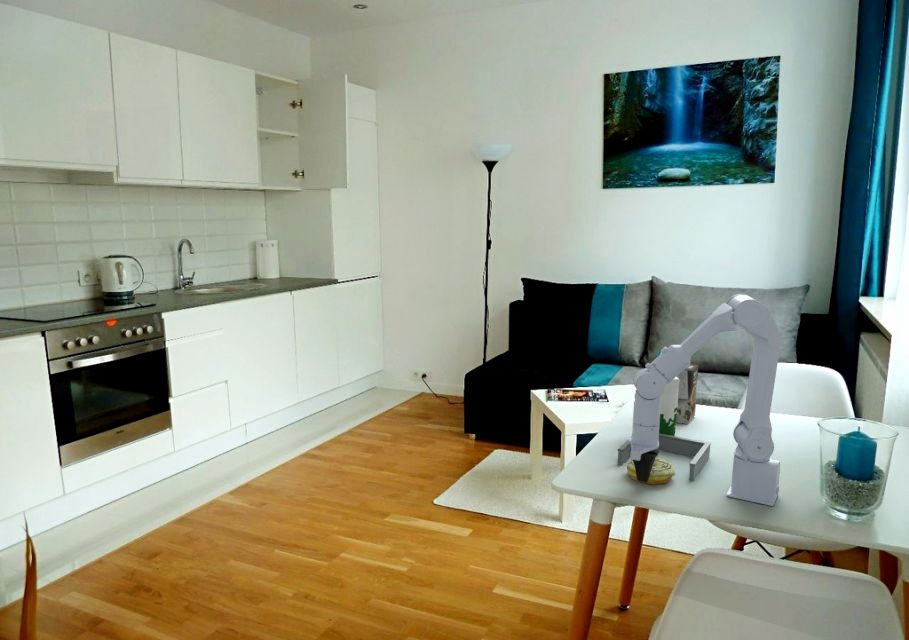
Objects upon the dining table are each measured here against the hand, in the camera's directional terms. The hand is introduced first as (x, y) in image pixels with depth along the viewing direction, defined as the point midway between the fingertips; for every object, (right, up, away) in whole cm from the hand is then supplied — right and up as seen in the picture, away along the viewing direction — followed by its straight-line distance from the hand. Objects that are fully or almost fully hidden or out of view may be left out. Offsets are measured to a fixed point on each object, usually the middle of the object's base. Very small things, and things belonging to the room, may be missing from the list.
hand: (642, 480), depth 153 cm
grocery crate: (+9, +1, +15) cm, 18 cm away
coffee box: (+25, +7, +49) cm, 56 cm away
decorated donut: (+3, -1, +6) cm, 7 cm away
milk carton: (+13, +4, +32) cm, 34 cm away
